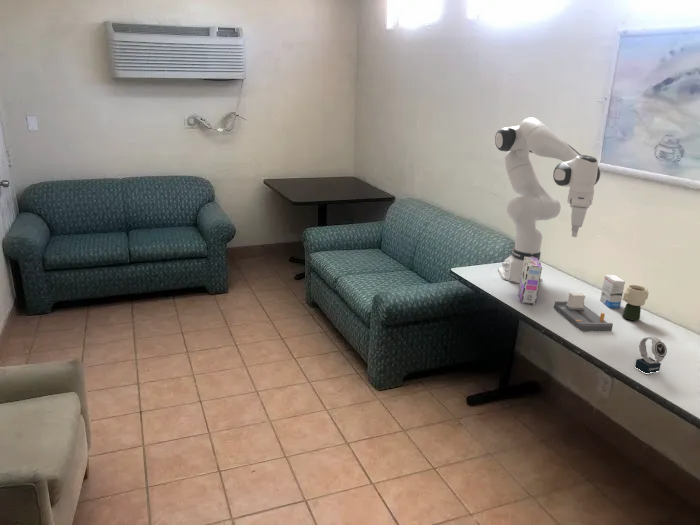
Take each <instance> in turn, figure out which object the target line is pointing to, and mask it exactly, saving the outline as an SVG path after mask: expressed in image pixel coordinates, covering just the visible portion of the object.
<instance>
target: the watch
mask: <svg viewBox="0 0 700 525" xmlns="http://www.w3.org/2000/svg"><path fill="white" fill-rule="evenodd" d="M648 340H651V345H652V346H651V352H652V354H653V356H654V358H655V359H653V358H652V357H651V356H649V357H648V352H647V351H648V350H647V345H646V342H647V341H648ZM638 347H639V354H640V357H641V358H636V361H635V365H634V368H635V367H636V368H638V369H640V370H641V371H643V372H645V373H650V372H656V371H659V372H660V370H661V365H662V363H661V362H662V361H664V359H665V358H666V355H667V353H668V349H667V346H666V344H665V342H662V340H661V339H659V338H658V337H655V336H648V337H644V338H642V339H641V340H640V341H639V345H638ZM641 371H640V372H641Z"/></svg>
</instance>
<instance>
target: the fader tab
mask: <svg viewBox="0 0 700 525" xmlns="http://www.w3.org/2000/svg"><path fill="white" fill-rule="evenodd" d="M567 298H568V299H567V301H568V303H567V304H565V306H566V307H567V308H568V309H570V310H584V309H585V308H584V307H583V304H584V305H585V298H586V294H583V293H582V292H569V293H568V297H567Z"/></svg>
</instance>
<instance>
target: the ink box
mask: <svg viewBox="0 0 700 525" xmlns="http://www.w3.org/2000/svg"><path fill="white" fill-rule="evenodd" d="M603 278H604V279H603V284H602V289H601V295H600V299H599V301H600V302H601V303H602V304H604V305H606V306H607V308H610V309H615V308H616V309H620V308H621V303H622V300H623V295H624V288H625V284H626V281H625V280H623V279H622V278H620V277H619V276H617V275H615V274H605V275H604V277H603Z"/></svg>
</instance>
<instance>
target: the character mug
mask: <svg viewBox="0 0 700 525" xmlns="http://www.w3.org/2000/svg"><path fill="white" fill-rule="evenodd" d="M648 298H649V291H648V288H646V287H645V286H642V285H637V284H628V285H627V287H626V291H625V292H623V295H622V300H623V301H625V303H626V304H625V306H624V309H623V312H622V317H624V318H625V319H626V320H631V321H634V322H635V321H636V322H638V321H640V319H641V318H640V317H641V308H642V306H644V305H645V304H646V300H648Z"/></svg>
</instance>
